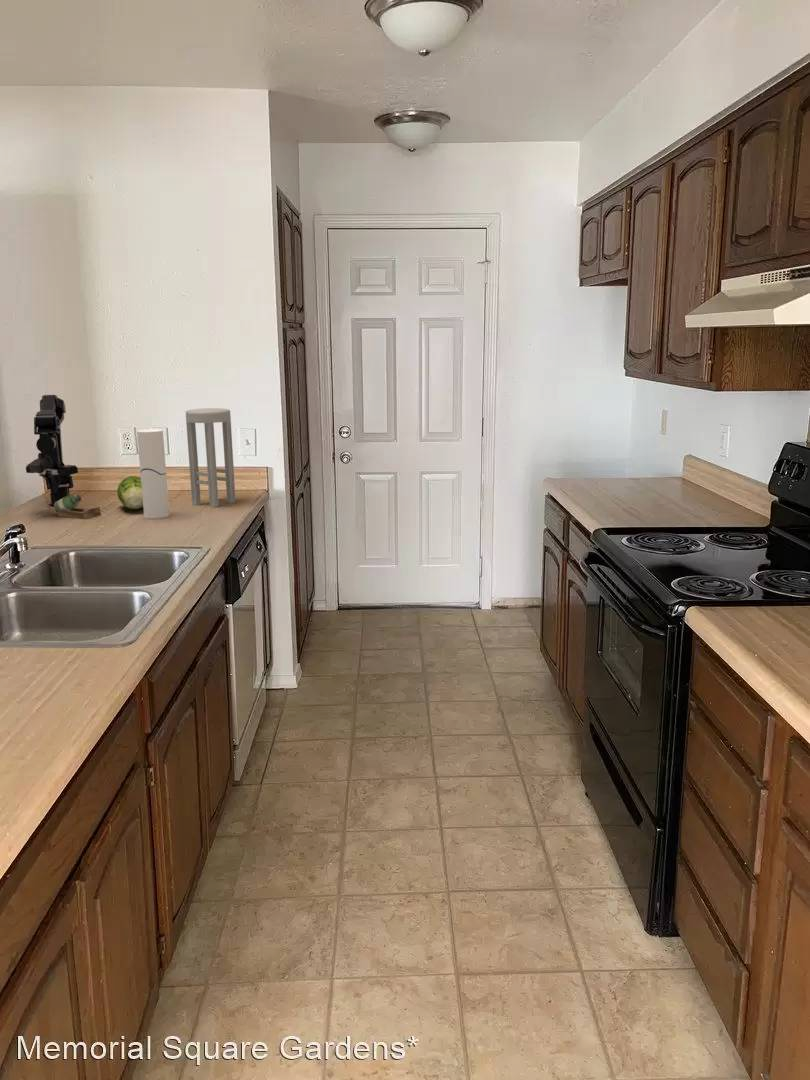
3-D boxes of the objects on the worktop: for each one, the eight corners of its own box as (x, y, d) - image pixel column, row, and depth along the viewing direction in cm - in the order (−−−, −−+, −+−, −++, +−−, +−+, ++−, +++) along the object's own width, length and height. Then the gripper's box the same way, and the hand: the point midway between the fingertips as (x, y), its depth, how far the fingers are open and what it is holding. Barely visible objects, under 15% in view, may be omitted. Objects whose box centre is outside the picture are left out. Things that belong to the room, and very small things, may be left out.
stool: (214, 509, 305) (208, 412, 297) (184, 505, 313) (177, 410, 305) (243, 501, 318) (238, 409, 310) (213, 498, 326) (207, 407, 318)
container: (162, 519, 289) (155, 432, 282) (139, 518, 291) (132, 431, 284) (173, 513, 298) (167, 429, 290) (151, 513, 299) (144, 429, 292)
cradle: (73, 512, 301) (72, 504, 300) (100, 515, 297) (99, 506, 296) (59, 516, 295) (58, 508, 294) (86, 519, 291) (86, 510, 290)
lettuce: (119, 516, 295) (116, 484, 292) (118, 505, 314) (115, 475, 311) (153, 513, 299) (151, 482, 296) (150, 503, 318) (147, 473, 315)
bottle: (62, 499, 300) (80, 490, 296) (68, 511, 301) (86, 502, 296) (51, 502, 296) (69, 492, 292) (57, 514, 297) (75, 505, 292)
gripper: (11, 451, 290) (16, 495, 294) (53, 453, 284) (58, 498, 287) (35, 447, 300) (40, 490, 304) (76, 449, 294) (81, 493, 297)
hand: (54, 493), depth 298 cm, fingers closed
